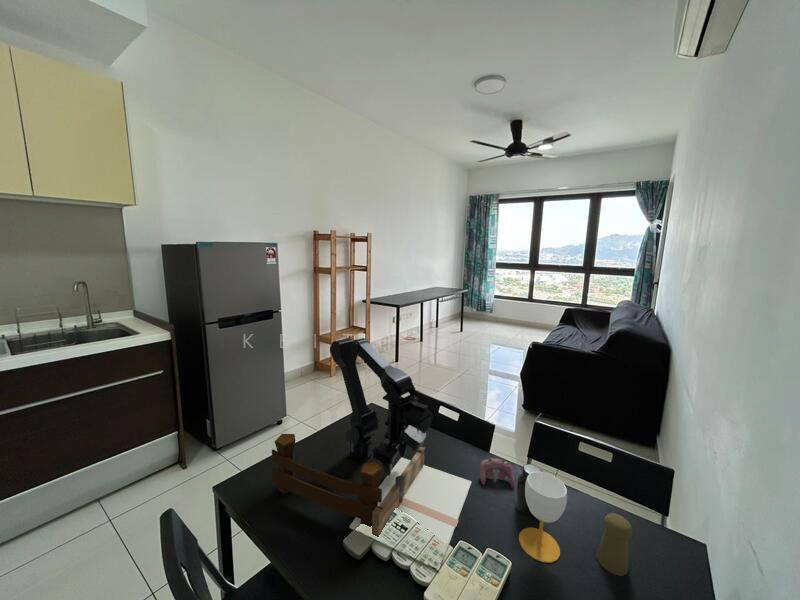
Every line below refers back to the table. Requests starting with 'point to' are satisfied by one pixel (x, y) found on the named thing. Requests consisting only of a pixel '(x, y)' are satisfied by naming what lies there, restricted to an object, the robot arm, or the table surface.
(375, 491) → the decorative fence
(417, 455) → the fence panel
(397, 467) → the card
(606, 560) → the cork
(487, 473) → the video game controller
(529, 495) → the cup
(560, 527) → the table surface
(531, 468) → the supplement bottle
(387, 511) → the fence fixed section
